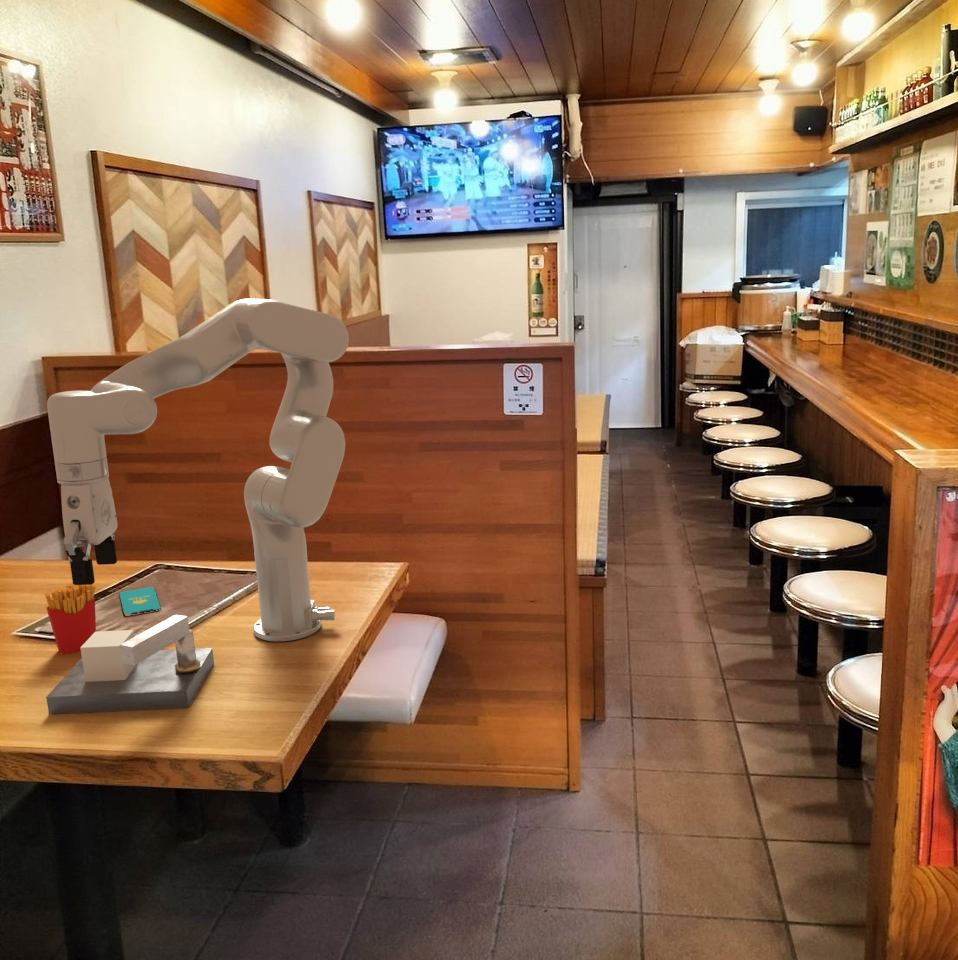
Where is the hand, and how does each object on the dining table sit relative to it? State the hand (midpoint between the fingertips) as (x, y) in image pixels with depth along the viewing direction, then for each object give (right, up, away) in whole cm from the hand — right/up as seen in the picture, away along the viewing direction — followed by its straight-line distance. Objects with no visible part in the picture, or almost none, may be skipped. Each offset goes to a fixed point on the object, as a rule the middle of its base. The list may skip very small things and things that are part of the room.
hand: (95, 573), depth 147 cm
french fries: (-13, -16, +22) cm, 30 cm away
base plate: (+4, -20, +5) cm, 21 cm away
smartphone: (-9, -11, +44) cm, 46 cm away
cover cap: (+1, -17, +4) cm, 17 cm away
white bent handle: (+11, -17, 0) cm, 21 cm away
